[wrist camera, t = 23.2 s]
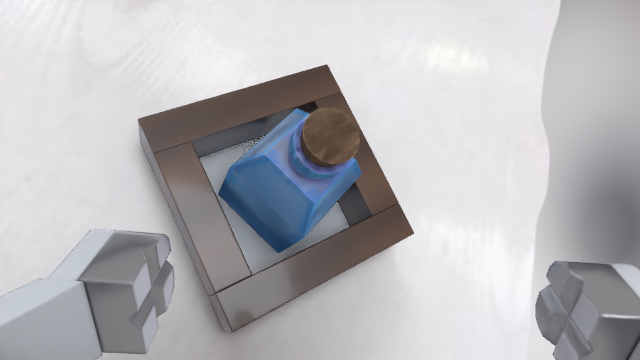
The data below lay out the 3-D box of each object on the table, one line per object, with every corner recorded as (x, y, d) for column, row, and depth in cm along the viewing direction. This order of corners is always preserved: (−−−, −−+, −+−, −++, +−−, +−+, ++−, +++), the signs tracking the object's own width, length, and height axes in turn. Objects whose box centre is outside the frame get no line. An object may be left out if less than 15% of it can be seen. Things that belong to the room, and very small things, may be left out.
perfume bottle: (278, 253, 32) (338, 218, 21) (218, 194, 32) (247, 128, 21) (329, 197, 35) (405, 141, 24) (274, 142, 34) (326, 61, 24)
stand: (389, 242, 35) (415, 233, 32) (223, 331, 29) (232, 332, 26) (311, 88, 37) (327, 63, 34) (140, 142, 31) (137, 118, 27)
